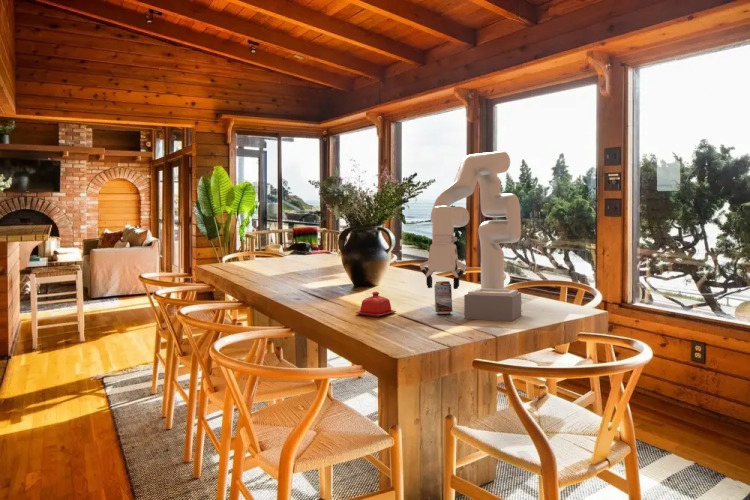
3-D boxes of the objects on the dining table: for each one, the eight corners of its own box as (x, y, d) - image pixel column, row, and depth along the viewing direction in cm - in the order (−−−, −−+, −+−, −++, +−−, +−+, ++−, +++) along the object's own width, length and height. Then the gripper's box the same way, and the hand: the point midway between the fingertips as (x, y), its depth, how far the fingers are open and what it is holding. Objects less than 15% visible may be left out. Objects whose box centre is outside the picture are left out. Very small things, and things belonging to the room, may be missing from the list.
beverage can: (439, 316, 192) (439, 281, 192) (431, 313, 200) (431, 280, 199) (455, 315, 194) (455, 281, 194) (447, 312, 201) (447, 280, 201)
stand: (476, 312, 200) (476, 288, 200) (521, 315, 193) (521, 289, 193) (464, 318, 185) (464, 292, 185) (512, 321, 179) (512, 293, 178)
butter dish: (379, 318, 190) (379, 293, 190) (353, 315, 197) (353, 292, 197) (398, 314, 199) (397, 291, 199) (372, 312, 206) (372, 289, 206)
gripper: (469, 240, 196) (469, 288, 196) (423, 240, 203) (423, 286, 203) (463, 240, 189) (463, 289, 189) (416, 240, 197) (416, 288, 197)
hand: (442, 288), depth 196 cm, fingers open, 9 cm apart
